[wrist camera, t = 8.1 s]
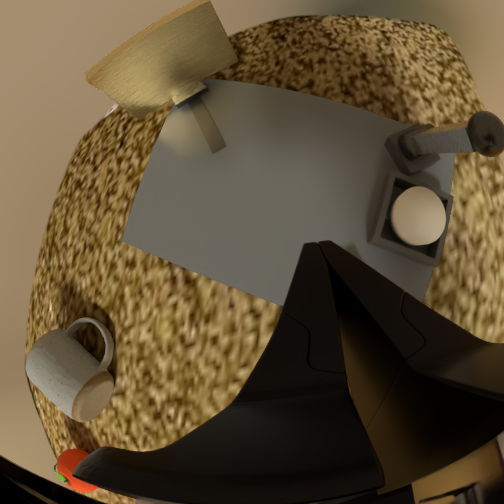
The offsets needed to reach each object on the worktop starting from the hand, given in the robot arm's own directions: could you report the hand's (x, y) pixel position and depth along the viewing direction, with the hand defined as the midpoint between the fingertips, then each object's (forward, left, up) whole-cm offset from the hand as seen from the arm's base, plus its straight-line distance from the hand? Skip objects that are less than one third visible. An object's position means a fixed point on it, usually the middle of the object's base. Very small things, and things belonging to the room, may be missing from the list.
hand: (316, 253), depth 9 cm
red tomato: (-37, +17, -13) cm, 43 cm away
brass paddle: (+11, +14, -10) cm, 21 cm away
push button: (+5, -6, -9) cm, 12 cm away
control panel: (+4, +3, -13) cm, 14 cm away
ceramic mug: (-18, +18, -13) cm, 29 cm away
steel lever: (+10, -5, -8) cm, 13 cm away
